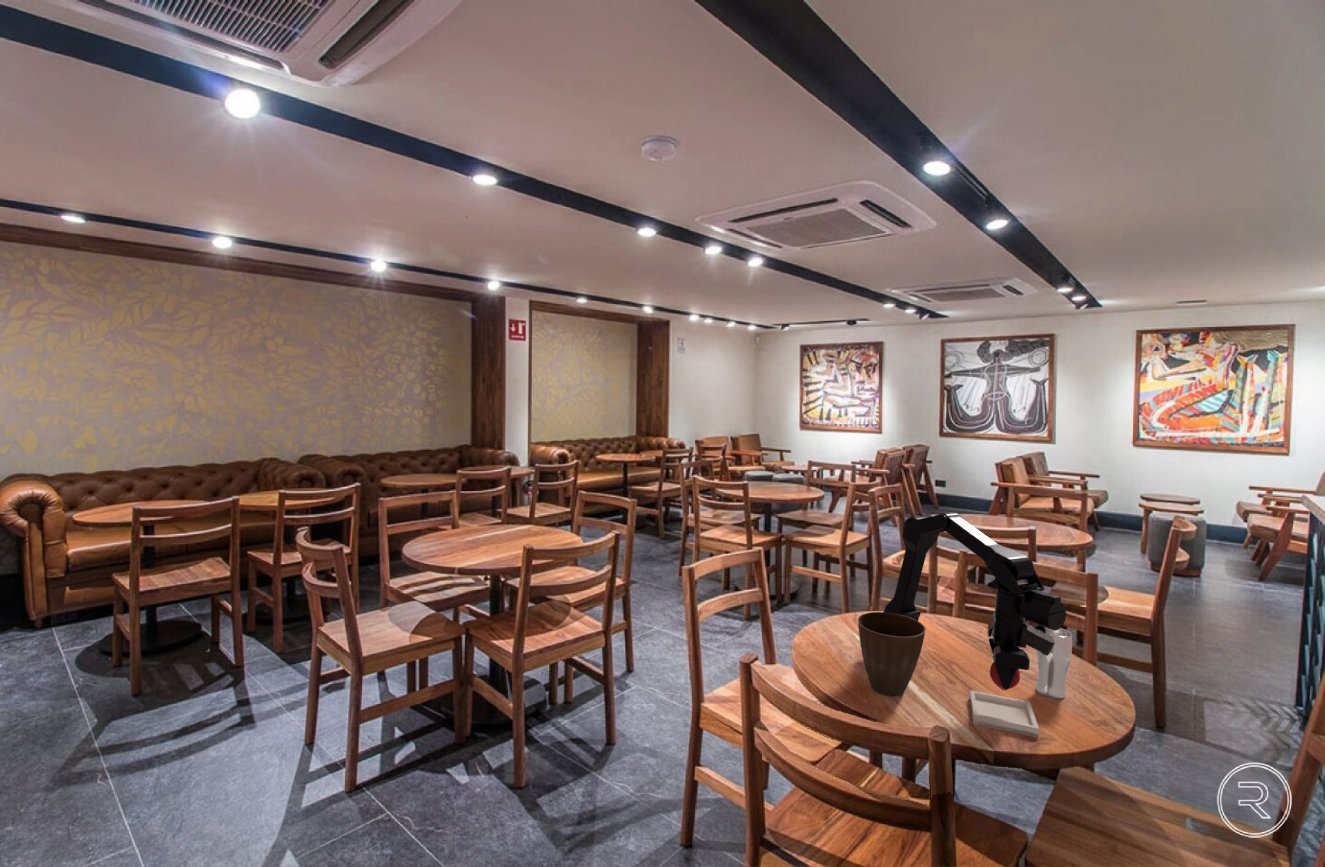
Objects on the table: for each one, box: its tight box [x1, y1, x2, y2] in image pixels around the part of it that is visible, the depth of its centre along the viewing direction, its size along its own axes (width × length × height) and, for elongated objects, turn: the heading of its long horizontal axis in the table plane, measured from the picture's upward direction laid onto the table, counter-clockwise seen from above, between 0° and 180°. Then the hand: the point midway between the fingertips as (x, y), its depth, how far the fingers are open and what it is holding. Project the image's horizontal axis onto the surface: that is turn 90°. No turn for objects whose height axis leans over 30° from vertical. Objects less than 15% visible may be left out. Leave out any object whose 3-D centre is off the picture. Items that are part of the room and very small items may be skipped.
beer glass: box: [1035, 627, 1073, 700], centre depth 148 cm, size 7×7×15 cm
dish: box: [969, 689, 1040, 739], centre depth 137 cm, size 12×12×2 cm
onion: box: [989, 661, 1021, 691], centre depth 136 cm, size 6×6×8 cm
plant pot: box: [857, 611, 926, 697], centre depth 147 cm, size 15×15×16 cm
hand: (1003, 682), depth 136 cm, fingers closed on onion, 6 cm apart
